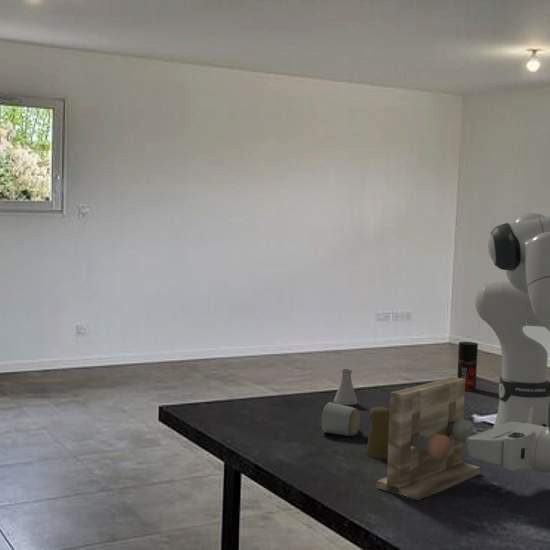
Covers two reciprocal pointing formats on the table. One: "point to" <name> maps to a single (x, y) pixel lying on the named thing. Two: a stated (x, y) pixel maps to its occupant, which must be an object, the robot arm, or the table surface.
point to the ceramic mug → (340, 419)
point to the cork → (378, 433)
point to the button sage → (459, 429)
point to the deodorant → (468, 364)
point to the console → (426, 421)
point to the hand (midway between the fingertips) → (468, 432)
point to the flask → (346, 390)
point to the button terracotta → (432, 444)
